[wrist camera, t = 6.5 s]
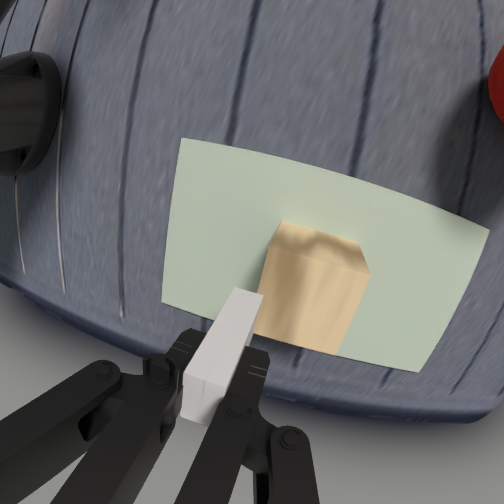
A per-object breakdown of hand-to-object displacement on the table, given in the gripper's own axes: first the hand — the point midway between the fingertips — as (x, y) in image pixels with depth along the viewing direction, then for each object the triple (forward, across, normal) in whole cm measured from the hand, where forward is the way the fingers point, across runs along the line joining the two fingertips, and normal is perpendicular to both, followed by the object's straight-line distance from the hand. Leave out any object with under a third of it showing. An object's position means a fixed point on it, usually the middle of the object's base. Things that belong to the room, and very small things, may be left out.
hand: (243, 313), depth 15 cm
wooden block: (+6, 0, 0) cm, 6 cm away
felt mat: (+9, +4, 0) cm, 10 cm away
